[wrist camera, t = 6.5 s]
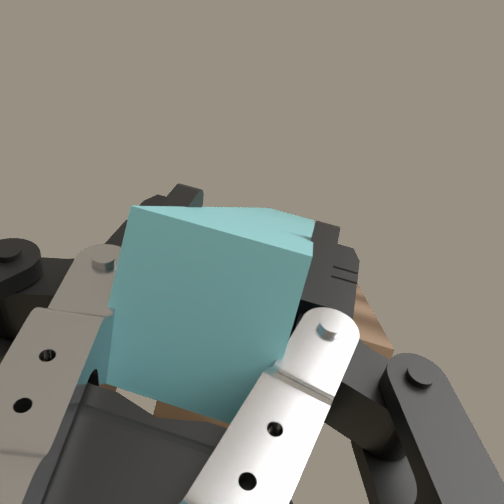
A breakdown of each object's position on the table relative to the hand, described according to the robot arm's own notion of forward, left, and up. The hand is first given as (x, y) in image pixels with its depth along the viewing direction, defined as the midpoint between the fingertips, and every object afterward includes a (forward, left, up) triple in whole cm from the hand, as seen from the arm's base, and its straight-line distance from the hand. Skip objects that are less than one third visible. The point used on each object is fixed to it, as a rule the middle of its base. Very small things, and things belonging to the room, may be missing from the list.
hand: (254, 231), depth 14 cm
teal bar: (-6, -5, -3) cm, 8 cm away
